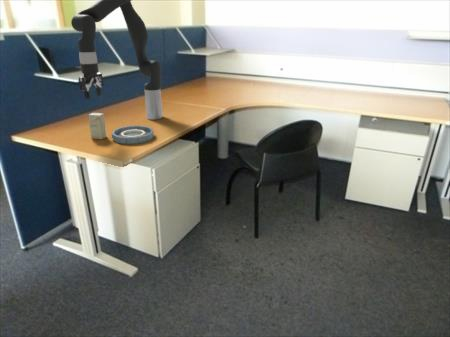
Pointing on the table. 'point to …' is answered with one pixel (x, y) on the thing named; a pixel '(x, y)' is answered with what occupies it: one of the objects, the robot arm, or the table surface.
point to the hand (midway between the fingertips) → (93, 97)
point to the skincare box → (97, 125)
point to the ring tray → (132, 134)
